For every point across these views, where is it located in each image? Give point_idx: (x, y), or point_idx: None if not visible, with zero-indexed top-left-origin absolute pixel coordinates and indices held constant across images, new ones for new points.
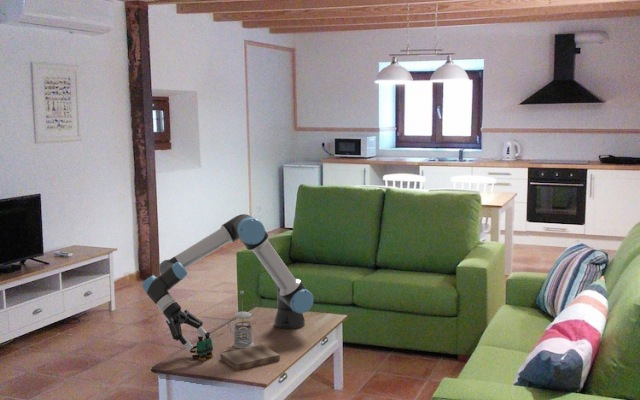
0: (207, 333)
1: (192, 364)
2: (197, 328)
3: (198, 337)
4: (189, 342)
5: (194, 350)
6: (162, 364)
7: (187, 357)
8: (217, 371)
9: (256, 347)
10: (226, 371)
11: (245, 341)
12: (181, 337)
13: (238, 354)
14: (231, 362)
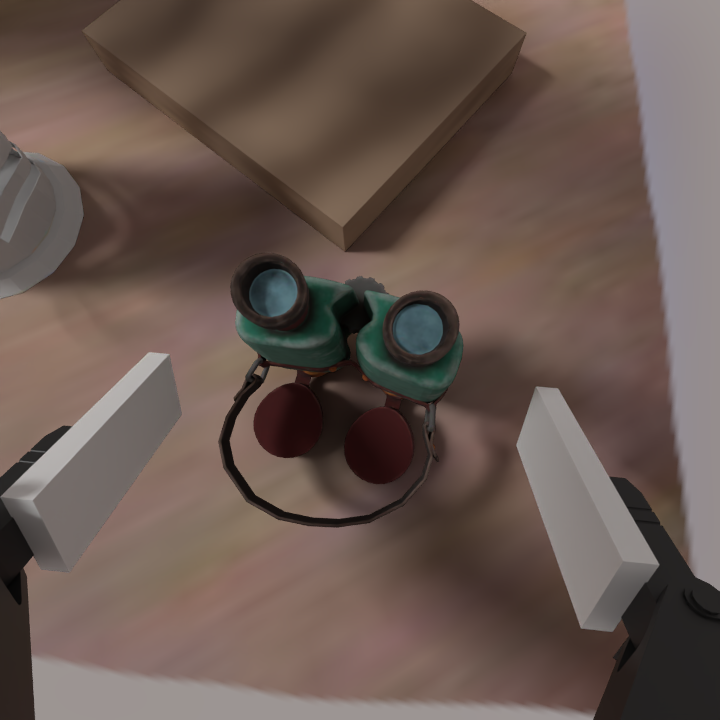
0: (244, 299)
1: (517, 408)
2: (23, 576)
3: (452, 343)
4: (570, 435)
5: (426, 434)
6: None
7: (378, 535)
8: (575, 174)
9: (152, 39)
10: (552, 123)
11: (22, 154)
12: (674, 574)
13: (328, 96)
14: (468, 101)
